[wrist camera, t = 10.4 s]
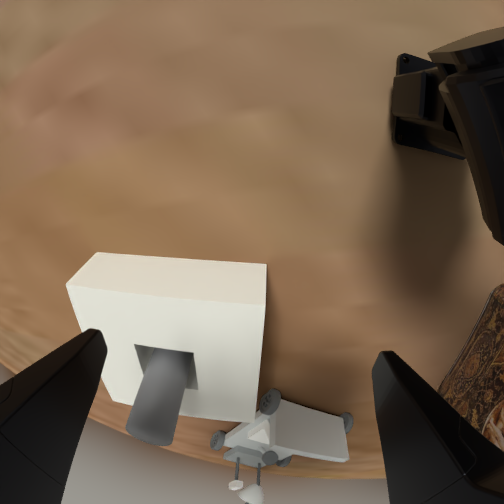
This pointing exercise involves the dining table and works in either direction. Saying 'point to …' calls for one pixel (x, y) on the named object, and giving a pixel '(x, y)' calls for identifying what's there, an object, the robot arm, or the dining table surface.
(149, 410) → the peg
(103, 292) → the socket block
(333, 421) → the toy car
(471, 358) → the book
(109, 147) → the dining table surface
